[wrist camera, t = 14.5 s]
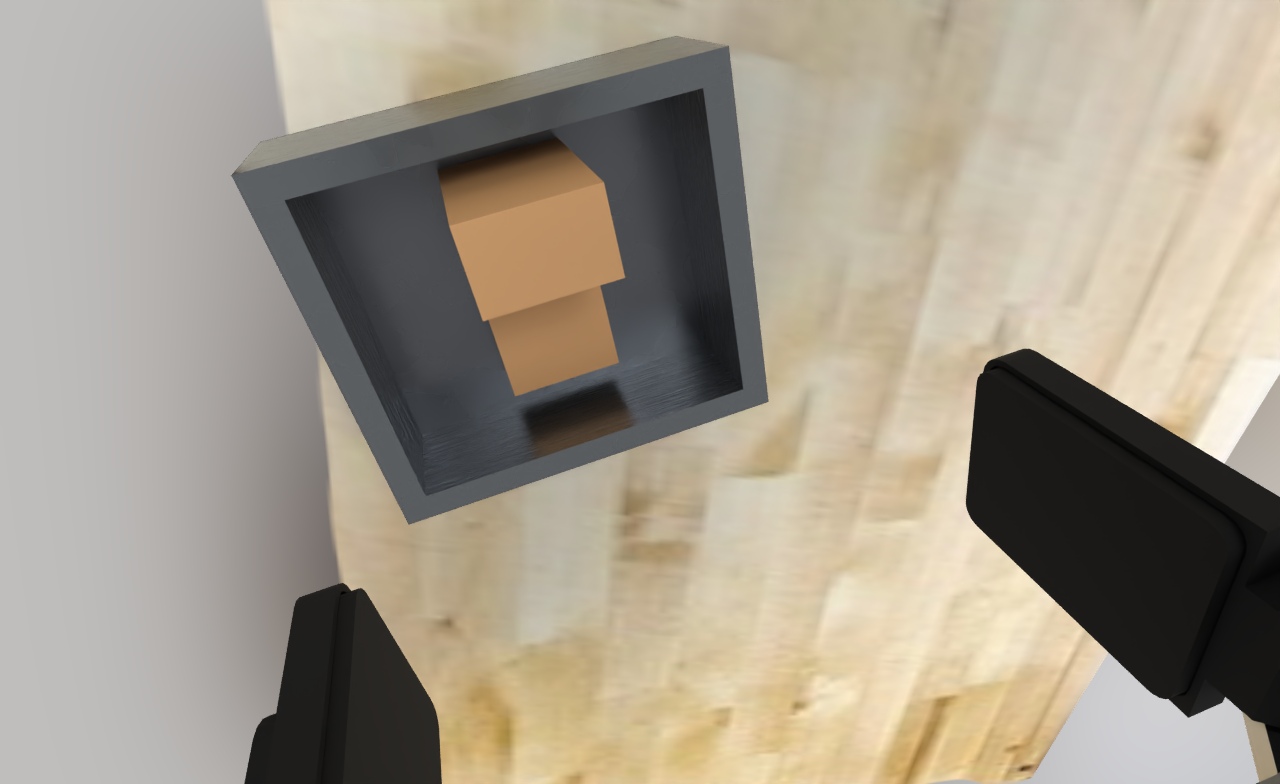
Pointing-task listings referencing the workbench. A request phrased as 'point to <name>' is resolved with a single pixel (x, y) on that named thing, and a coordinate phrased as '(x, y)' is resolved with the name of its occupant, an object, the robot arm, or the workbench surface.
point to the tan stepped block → (537, 258)
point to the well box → (442, 296)
